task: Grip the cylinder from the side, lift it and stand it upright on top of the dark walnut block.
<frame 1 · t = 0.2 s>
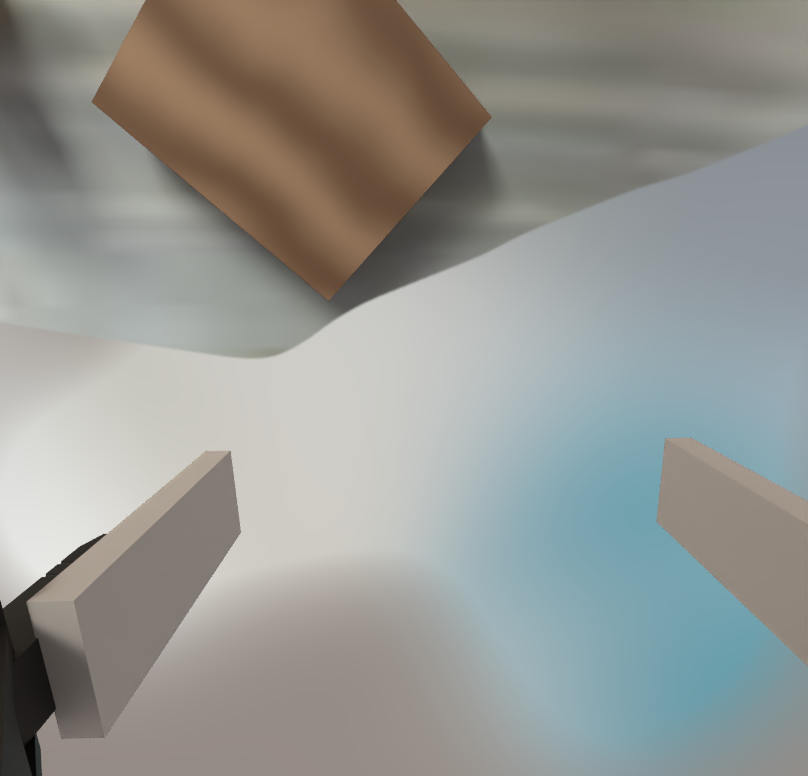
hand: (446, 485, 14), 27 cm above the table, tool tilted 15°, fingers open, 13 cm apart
walnut block: (308, 113, 32), on the table
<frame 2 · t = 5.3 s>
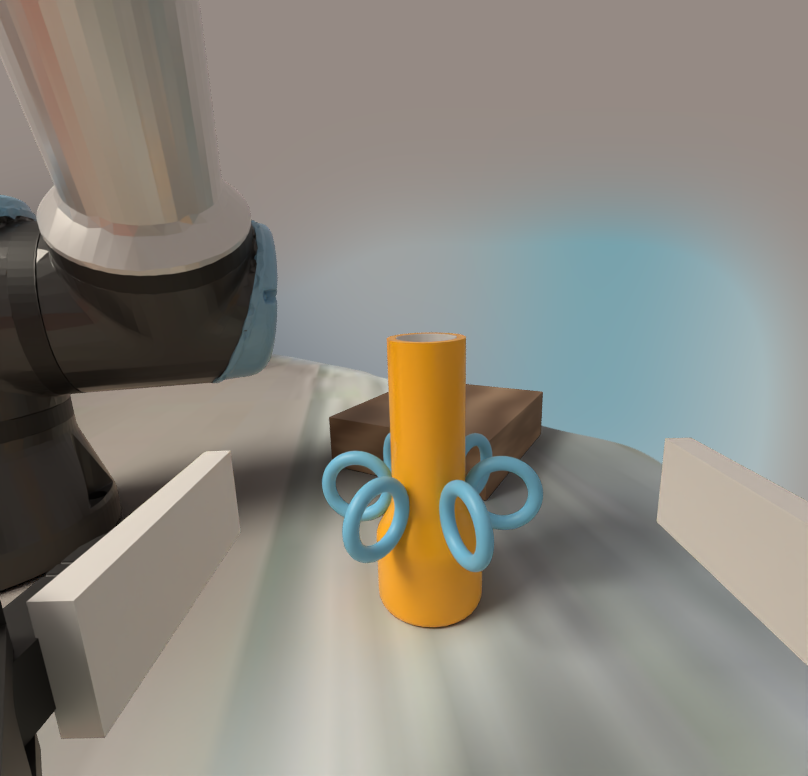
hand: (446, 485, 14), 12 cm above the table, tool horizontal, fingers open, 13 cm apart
walnut block: (444, 448, 48), on the table
cylinder: (430, 595, 26), on the table
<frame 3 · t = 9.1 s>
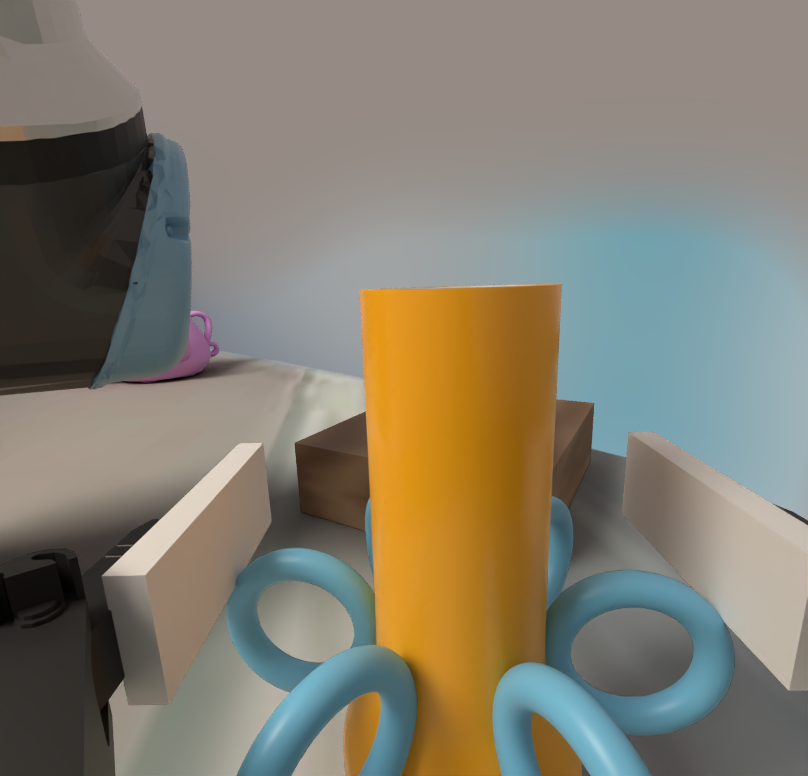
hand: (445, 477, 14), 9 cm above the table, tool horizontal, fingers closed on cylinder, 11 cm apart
walnut block: (460, 483, 35), on the table
teapot: (167, 378, 81), on the table
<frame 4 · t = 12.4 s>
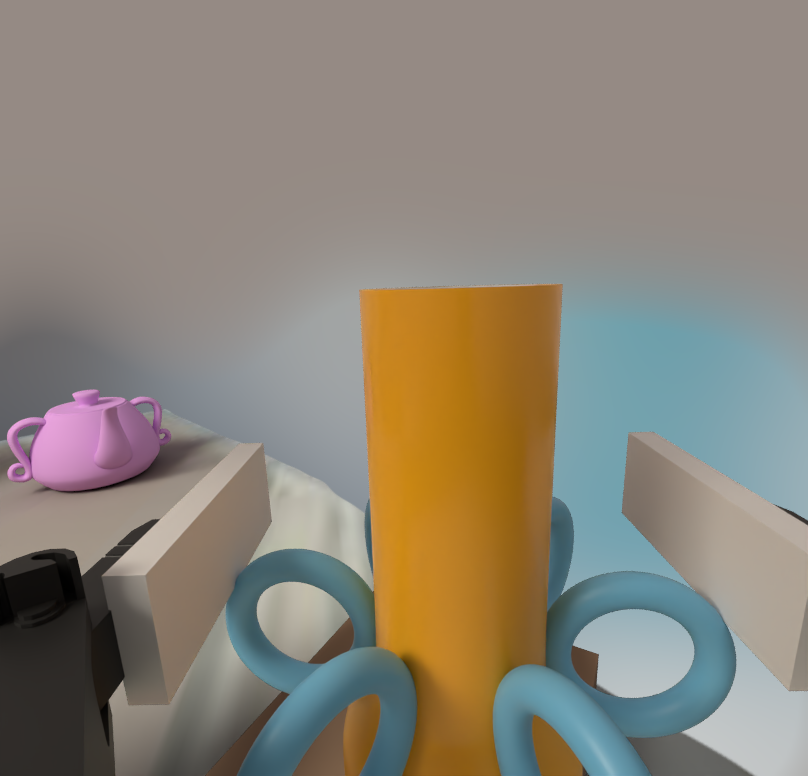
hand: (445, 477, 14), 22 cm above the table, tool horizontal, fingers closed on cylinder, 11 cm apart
teapot: (107, 479, 71), on the table
when the fingers open (15 cm above the table, at t = 15.9 s): cylinder stays where it is, resting on walnut block.
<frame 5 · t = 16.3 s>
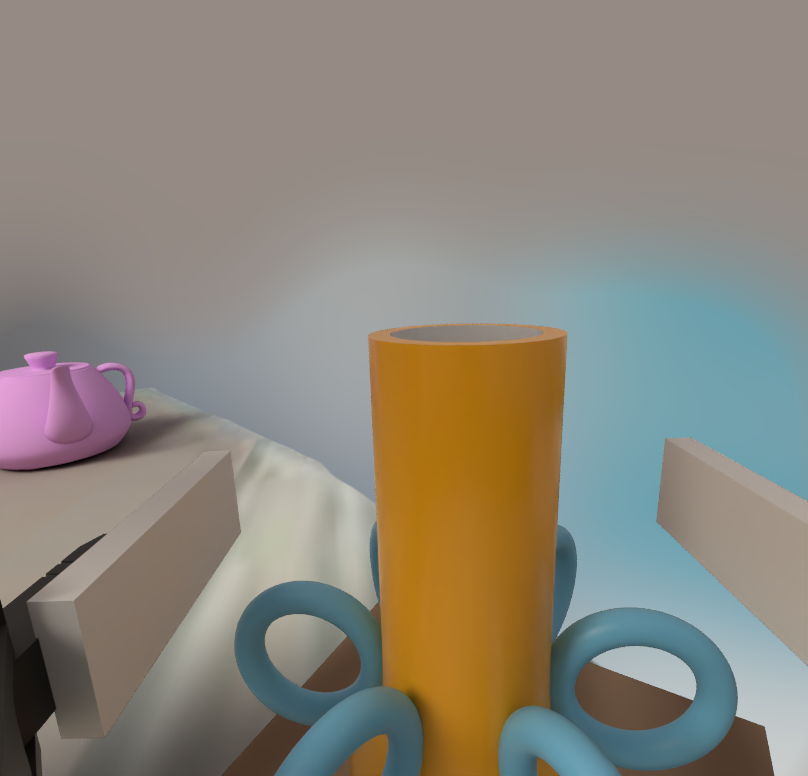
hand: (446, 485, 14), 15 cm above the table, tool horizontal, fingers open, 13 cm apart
teapot: (66, 458, 60), on the table
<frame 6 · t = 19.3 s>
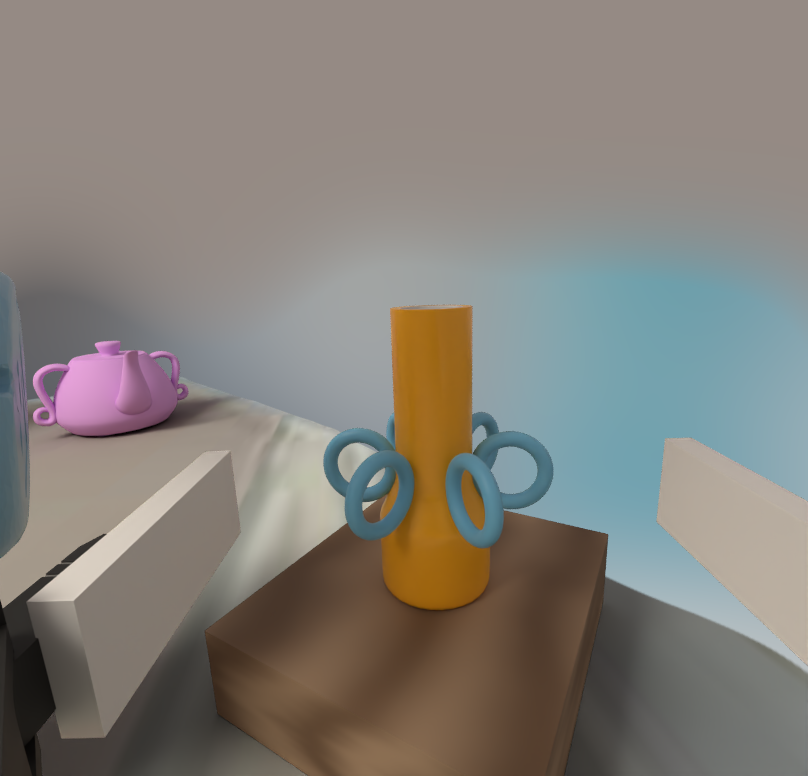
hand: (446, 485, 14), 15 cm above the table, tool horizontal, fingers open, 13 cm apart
walnut block: (435, 650, 27), on the table
teapot: (127, 429, 73), on the table
cylinder: (435, 579, 25), point 5 cm above the table, touching walnut block
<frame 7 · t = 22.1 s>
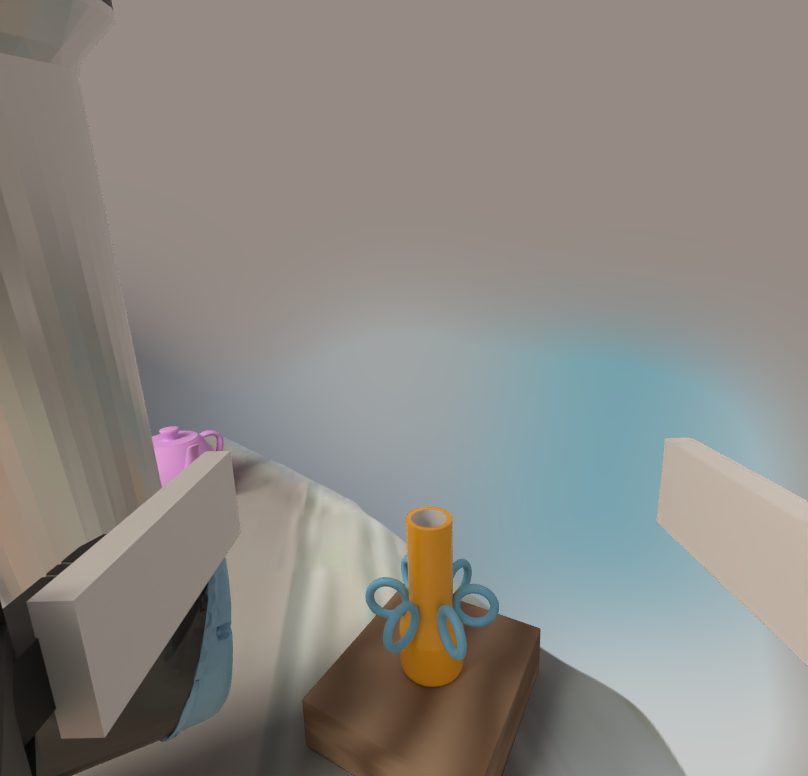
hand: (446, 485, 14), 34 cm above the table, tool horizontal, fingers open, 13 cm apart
walnut block: (432, 704, 44), on the table
teapot: (184, 497, 90), on the table
cylinder: (431, 663, 43), point 5 cm above the table, touching walnut block
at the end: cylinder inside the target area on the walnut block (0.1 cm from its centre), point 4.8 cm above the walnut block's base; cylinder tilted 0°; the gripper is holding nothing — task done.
